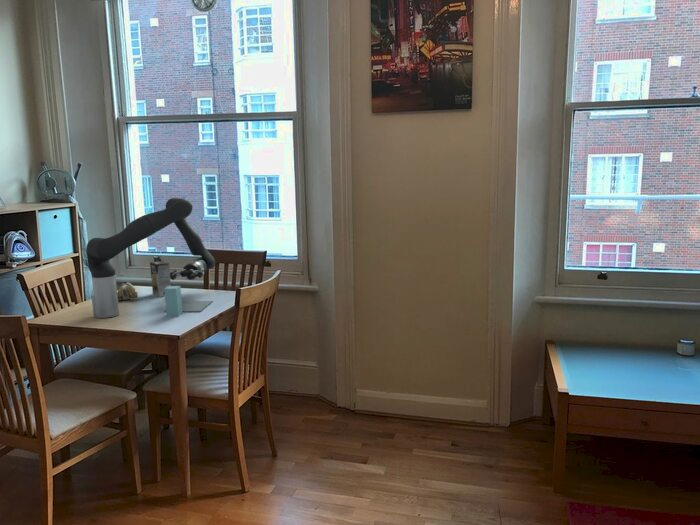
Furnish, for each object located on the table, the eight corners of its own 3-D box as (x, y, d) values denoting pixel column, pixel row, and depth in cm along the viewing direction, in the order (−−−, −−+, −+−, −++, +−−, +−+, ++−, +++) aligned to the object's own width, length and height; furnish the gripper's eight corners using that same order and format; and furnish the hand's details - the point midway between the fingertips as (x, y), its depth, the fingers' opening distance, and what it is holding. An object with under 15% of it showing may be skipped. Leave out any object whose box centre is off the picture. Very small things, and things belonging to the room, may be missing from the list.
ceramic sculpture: (137, 277, 271) (135, 285, 257) (139, 294, 273) (137, 302, 259) (114, 279, 268) (111, 287, 254) (116, 296, 270) (113, 305, 256)
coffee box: (152, 294, 273) (149, 262, 270) (164, 292, 277) (162, 260, 275) (159, 297, 266) (156, 264, 264) (172, 295, 270) (169, 262, 268)
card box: (166, 316, 231) (164, 288, 229) (170, 313, 236) (168, 286, 234) (178, 316, 231) (176, 288, 229) (182, 313, 236) (180, 285, 234)
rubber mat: (164, 312, 238) (164, 311, 238) (178, 302, 255) (178, 301, 255) (200, 312, 237) (200, 310, 237) (212, 301, 255) (212, 300, 255)
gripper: (177, 262, 258) (165, 269, 242) (207, 261, 257) (196, 268, 241) (179, 278, 259) (166, 286, 243) (209, 277, 259) (198, 285, 243)
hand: (181, 277), depth 242 cm, fingers open, 8 cm apart
